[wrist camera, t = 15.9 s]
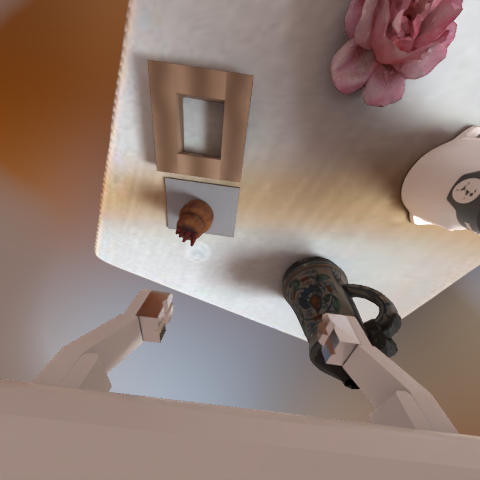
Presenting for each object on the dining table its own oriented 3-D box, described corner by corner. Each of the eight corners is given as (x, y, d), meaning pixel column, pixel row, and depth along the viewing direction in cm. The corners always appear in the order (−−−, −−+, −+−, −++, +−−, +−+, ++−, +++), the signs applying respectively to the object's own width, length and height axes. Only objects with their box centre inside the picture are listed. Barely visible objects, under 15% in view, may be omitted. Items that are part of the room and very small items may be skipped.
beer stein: (273, 295, 56) (288, 398, 34) (297, 239, 46) (338, 332, 24) (326, 305, 57) (373, 412, 35) (360, 253, 47) (453, 354, 25)
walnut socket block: (252, 82, 32) (252, 75, 29) (240, 178, 40) (239, 182, 36) (158, 68, 32) (147, 59, 28) (165, 167, 40) (157, 170, 36)
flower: (394, 123, 31) (455, 87, 22) (310, 95, 32) (334, 48, 22) (442, 19, 28) (538, -76, 19) (349, -10, 29) (396, -119, 19)
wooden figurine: (221, 210, 43) (208, 243, 30) (206, 227, 45) (188, 264, 32) (196, 190, 41) (171, 216, 28) (182, 209, 43) (153, 241, 30)
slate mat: (239, 187, 41) (239, 188, 40) (233, 236, 47) (233, 237, 46) (165, 177, 41) (164, 178, 40) (169, 227, 46) (168, 228, 46)
